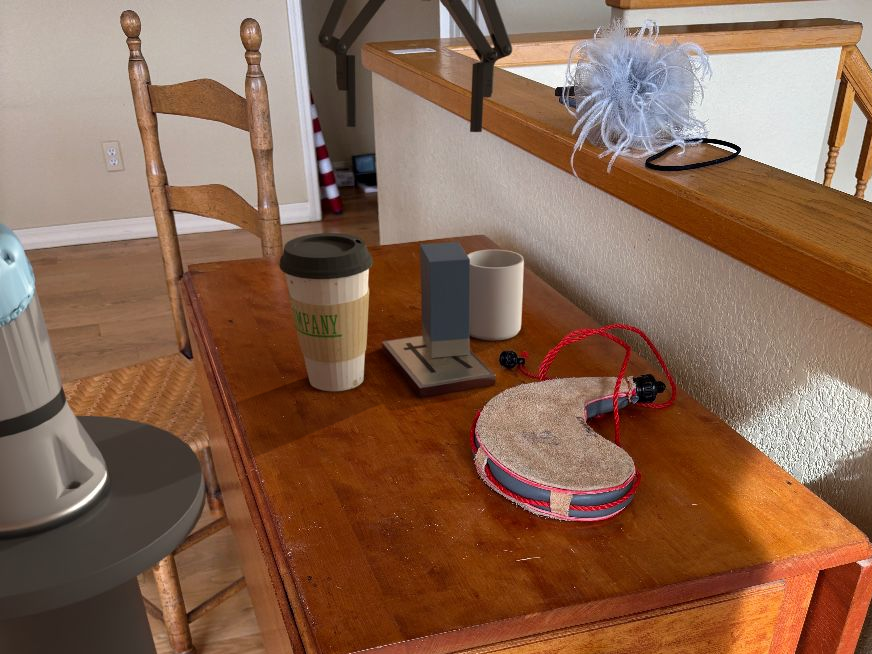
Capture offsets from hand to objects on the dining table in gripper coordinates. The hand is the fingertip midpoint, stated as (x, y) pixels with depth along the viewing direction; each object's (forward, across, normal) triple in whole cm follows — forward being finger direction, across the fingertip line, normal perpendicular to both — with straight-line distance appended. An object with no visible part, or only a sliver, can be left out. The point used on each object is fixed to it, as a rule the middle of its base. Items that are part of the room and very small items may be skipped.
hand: (414, 129), depth 100 cm
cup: (+22, -11, -8) cm, 26 cm away
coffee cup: (+26, +9, +4) cm, 28 cm away
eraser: (+23, -4, +1) cm, 23 cm away
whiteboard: (+25, -3, +3) cm, 25 cm away
